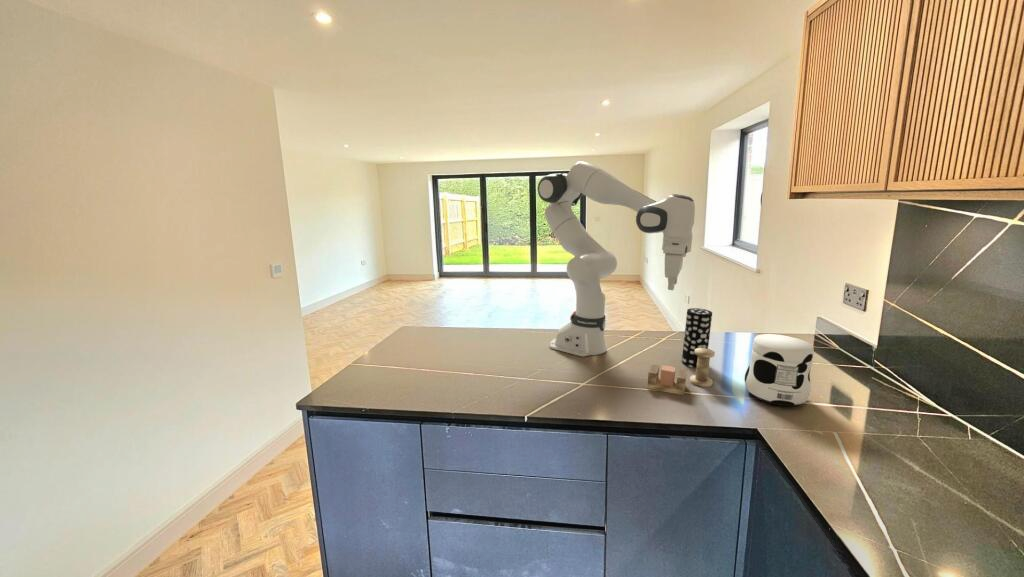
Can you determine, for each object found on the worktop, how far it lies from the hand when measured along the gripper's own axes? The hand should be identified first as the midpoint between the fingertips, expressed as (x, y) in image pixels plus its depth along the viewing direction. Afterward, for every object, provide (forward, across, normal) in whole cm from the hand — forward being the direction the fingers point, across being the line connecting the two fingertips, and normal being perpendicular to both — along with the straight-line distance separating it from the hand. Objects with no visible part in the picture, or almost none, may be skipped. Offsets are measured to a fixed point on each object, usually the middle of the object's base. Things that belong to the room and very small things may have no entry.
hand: (672, 286), depth 142 cm
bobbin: (+31, +3, +12) cm, 33 cm away
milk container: (+31, +4, +33) cm, 46 cm away
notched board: (+31, +12, +2) cm, 33 cm away
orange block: (+29, +12, +2) cm, 32 cm away
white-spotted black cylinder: (+31, -13, +9) cm, 35 cm away
